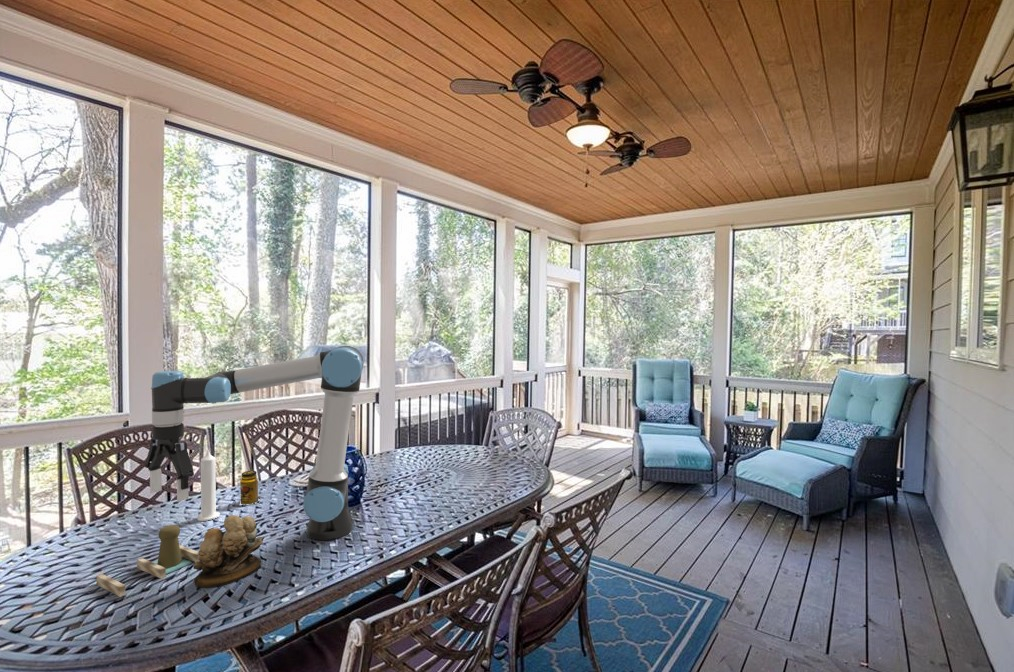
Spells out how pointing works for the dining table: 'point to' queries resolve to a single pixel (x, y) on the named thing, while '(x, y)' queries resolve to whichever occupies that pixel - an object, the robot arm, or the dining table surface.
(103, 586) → the notched rack
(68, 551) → the dining table surface
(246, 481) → the condiment
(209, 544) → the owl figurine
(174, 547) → the olive pawn
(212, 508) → the candle
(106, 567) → the dining table surface
